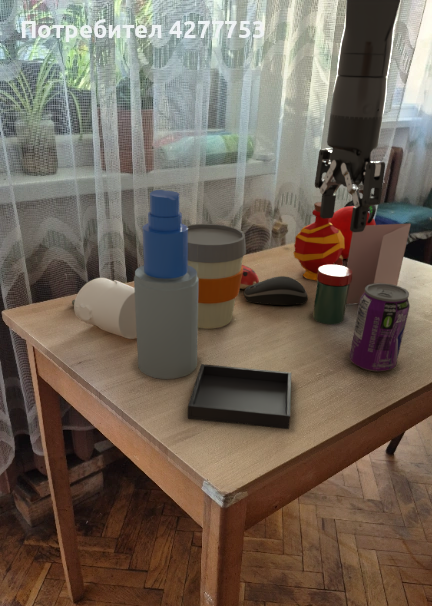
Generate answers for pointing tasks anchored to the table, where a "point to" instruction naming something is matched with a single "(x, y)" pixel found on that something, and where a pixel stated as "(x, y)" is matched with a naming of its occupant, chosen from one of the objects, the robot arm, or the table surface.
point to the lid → (334, 275)
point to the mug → (108, 306)
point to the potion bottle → (318, 244)
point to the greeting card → (376, 257)
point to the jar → (330, 303)
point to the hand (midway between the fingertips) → (340, 224)
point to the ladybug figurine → (248, 278)
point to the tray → (241, 396)
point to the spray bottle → (166, 293)
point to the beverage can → (379, 327)
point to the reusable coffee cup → (216, 270)
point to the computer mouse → (277, 292)
